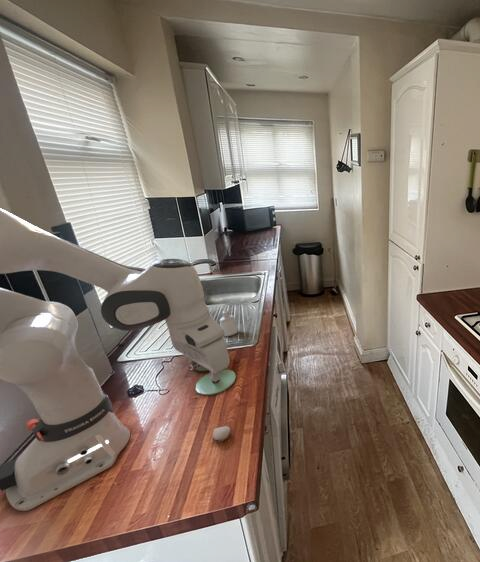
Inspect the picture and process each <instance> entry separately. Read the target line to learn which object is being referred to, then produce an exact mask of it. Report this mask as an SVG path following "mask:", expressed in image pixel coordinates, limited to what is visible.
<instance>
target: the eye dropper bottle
mask: <svg viewBox="0 0 480 562" xmlns="http://www.w3.org/2000/svg"><path fill="white" fill-rule="evenodd" d="M221 314H222V316H221V318H219V323H220V324H219V325H220V326H221V327H222V328H223V329H224V332H225V335H224V336H223V337H231V336H234V335H236V334H238V326H237V322H236V318H235V316H234V315H232V314H230V311H229V310H227V308H226V307H225V308H223V311H222V313H221Z"/></svg>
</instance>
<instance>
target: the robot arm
mask: <svg viewBox="0 0 480 562" xmlns="http://www.w3.org/2000/svg"><path fill="white" fill-rule="evenodd" d="M27 271H29V272H30V271H48V272H55V273H59V274H63V275H66V276H67V277H68V276H69V277H71V278H73V279H77V280H79V281H81V282H84V283H87V284H90V285H92V286H94V287H97V288H99V289H102V290H104V291H105V292H106V293H107V294H106V295H105V298H104V299H103V301H102V303H101V306H100V314H101V317H102V319H103V320H104V321H105V323H106V324H108V326H111V327H112V328H114V329H117V330H120V331H124V332H125V331H127V332H133V331H134V332H135V331H139V330H142V329H145V328H148V327H151V326H154V325H156V324H159V323H161V322H163V321H165V324H166V327H167V329H168V334H169V338H170V342H171V345H172V347H173V348H174V350H175V351H177V352H178V353H180V354H182V355H183V356H184V357H185V359H187V360H186V361H188V363H189V366H190V368H192V369H193V370H195V369H196V368H197V367H199V366H200V365H202V366H204V367H205V368H207V369H208V370H207V371H209V372H210V371H211V374H210V378H211V380H213V381H214V382H216V381H218V380H219V379H220V378H221V375H220V372H221V371H222V370H227V368H229V366H230V364H231V360H230V354H229V350H228V346H227V343H226V341H225V339H224V337H225V336H224V335H225V332H224V329H223V328H222V327H221V324H219V323H218V322H217V321H216V320H215V318H214V317H213V316H212V314H211V313H210V309H209V307H208V305H207V304H206V302H205V292H204V288H203V285H202V282H201V279H200V277H199V274H198V271H197V270H196V268H195V266H194V265H193V264H192V263H191V262H189V261H187V260H184V259H181V258H165V259H163V258H162V259H159V260H156V261H153V262H152V263H151V264H150V265H149V266H148V267H147V268H143V267H137V266H130V265H125V264H122V263H119V262H116V261H114V260H112V259H109V258H107V257H105V256H102V255H100V254H98V253H95V252H94V251H91V250H89V249H87V248H84V247H82V246H80V245H77V244H75V243H72V242H71V241H68V240H65V239H64V238H61V237H58V236H57V235H54V234H52V233H50V232H48V231H47V230H44V229H42V228H40V227H38V226H36V225H33V224H32V223H29V222H28V221H26V220H24V219H22V218H20V217H18V216H16V215H14V214H13V213H10V212H9V211H7V210H5V209H2V208H0V275H5V274H12V273H18V272H19V273H20V272H27ZM78 329H79V322H78V318H77V316H76V314H75V313H74V311H73V310H72V308H70V307H69V306H68V305H66V304H63V303H61V302H57V301H45V300H42V299H39V298H35V297H33V296H29V295H25V294H23V293H20V292H16V291H13V290H9V289H6V288H3V287H0V380H2V381H4V382H6V383H10V384H14V385H15V386H16V387H18V388H19V389H20V390H21V391H22V392H23V393H24V394H25V395H26V396H27V398H28V399H29V401H30V402H31V404H32V405H33V407H34V409H35V411H36V413H37V414H38V416H39V417H40V419H37V418H32V419H29V420H28V421H27V422H26V424H25V427H26V428H27V430H28V431H32V433H33V435H34V437H35V438H34V439H33V440H31V442H30V443H29V445H28V446H26V448H25V449H24V450H23V451H22V452H21V453H20V454H19V455H18V456H17V457H15V458H13V459H11V460H8V461H5V462H4V463H3V462H2V463H1V464H0V491H1V492H3V491H5V496H6V499H7V501H8V503H9V505H10V506H11V507H12V508H13V509H15V511H16V510H17V511H20V512H27V511H31V510H33V509H35V508H36V507H38V506H40V505H41V504H44V503H45V502H48V501H49V500H51V499H53V498H55V497H57V496H59V495H61V494H62V493H64V492H66V491H68V490H70V489H72V488H74V487H75V486H77V485H79V484H81V483H83V482H85V481H87V480H89V479H90V478H92V477H95V476H96V475H98V474H100V473H102V472H104V471H106V470H107V469H109V468H111V467H113V465H114V464H115V463H116V460H117V458H118V456H119V454H120V453H121V451H122V450H123V449H125V447H126V446H127V444H128V442H129V440H130V438H131V431H130V429H129V428H128V427H127V426H126V425H124V424H123V423H122V422H121V420H120V419H119V418H118V416H116V414H115V412H114V408H113V404H112V402H111V399H110V397H109V396H108V394H107V393H106V392H105V391H104V390H102V387H101V384H100V383H99V381H98V378H97V376H96V373H95V372H94V369H93V368H92V367H91V366H88V365H87V363H85V361H84V360H83V358H82V357H81V356H80V354H79V353H78V349H77V347H76V336H77V332H78Z"/></svg>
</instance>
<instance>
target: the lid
mask: <svg viewBox="0 0 480 562" xmlns="http://www.w3.org/2000/svg"><path fill="white" fill-rule="evenodd" d="M210 374H211V371H210V370H209V373H207V374H204V375H203V376H202V377H201V378H200V379H199V380H198V381H197V382H196V384H195V392H196V393H197V394H198V395H201V396H215V395H218V394H220V393H222V392H224V391H226V390H228V389H229V388H230V387H232V386H233V385H234V383H235V381H236V379H237V375H236V373H235V372H234V371H233V370H230V369H224V370H222V371H221V372H220V375H221V378H220V379H219V380H218V381H216V382H214V381H213V380H211V378H210Z"/></svg>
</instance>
